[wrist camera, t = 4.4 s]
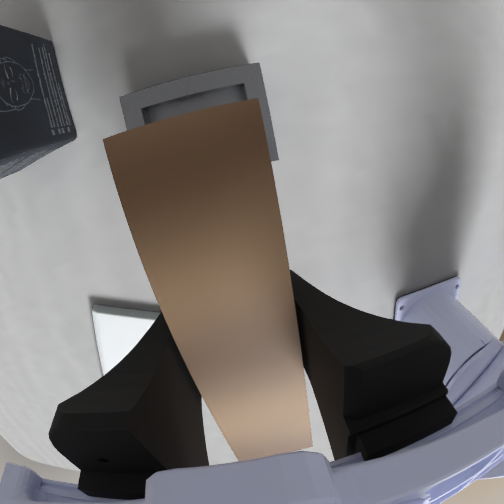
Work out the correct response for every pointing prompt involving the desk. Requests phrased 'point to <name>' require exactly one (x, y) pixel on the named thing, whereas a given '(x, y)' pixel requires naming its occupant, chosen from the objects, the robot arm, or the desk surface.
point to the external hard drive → (119, 332)
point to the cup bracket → (200, 97)
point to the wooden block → (220, 267)
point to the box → (30, 101)
